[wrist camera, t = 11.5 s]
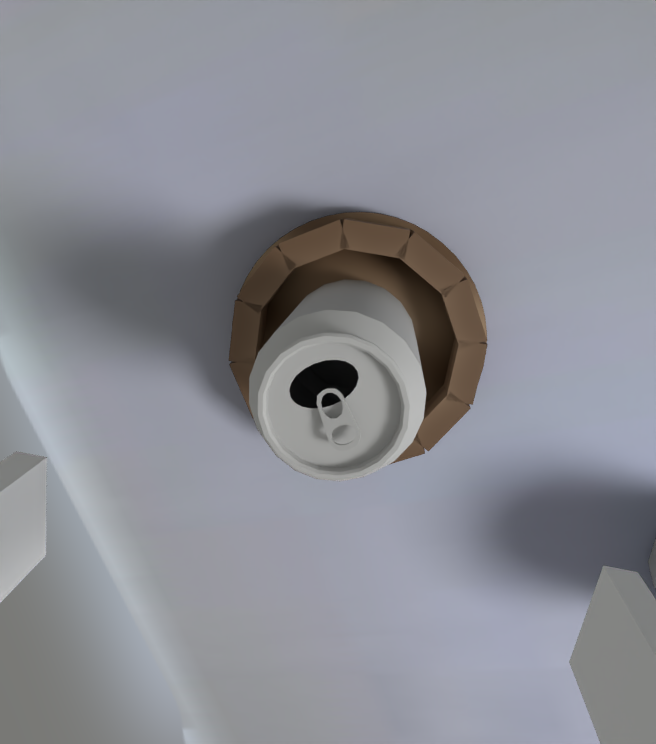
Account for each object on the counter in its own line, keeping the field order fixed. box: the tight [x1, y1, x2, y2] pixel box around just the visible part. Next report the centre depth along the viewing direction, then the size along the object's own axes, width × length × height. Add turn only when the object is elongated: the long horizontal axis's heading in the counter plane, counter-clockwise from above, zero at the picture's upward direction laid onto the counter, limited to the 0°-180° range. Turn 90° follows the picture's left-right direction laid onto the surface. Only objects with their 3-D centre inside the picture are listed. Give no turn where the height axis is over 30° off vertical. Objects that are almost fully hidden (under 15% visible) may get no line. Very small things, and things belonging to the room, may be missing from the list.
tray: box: [229, 212, 487, 464], centre depth 34 cm, size 15×15×3 cm
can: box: [249, 279, 426, 481], centre depth 28 cm, size 8×8×12 cm
